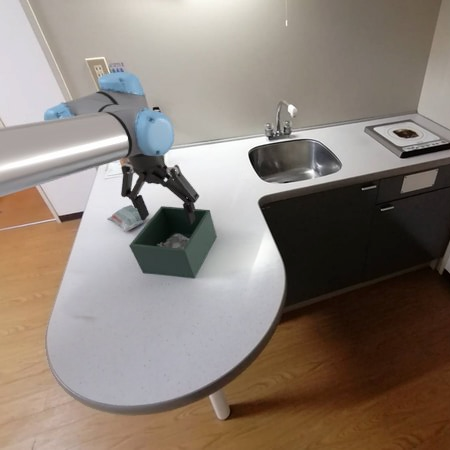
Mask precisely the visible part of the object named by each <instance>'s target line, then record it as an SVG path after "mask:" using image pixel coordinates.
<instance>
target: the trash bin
mask: <svg viewBox="0 0 450 450" xmlns="http://www.w3.org/2000/svg"><path fill="white" fill-rule="evenodd" d="M194 215H195V220H194V221H193V223H192V224H188V220H187V217H186V214H185V211H184V207H176V206H165V205H162V206H160V207H159V208H158V210H157V211H156V212H155V213H154V215H153V216H152V217H151V218H150V219H149V220H148V222H146V224H145V226H144V227H143V228H142V229H141V230H140V232H139V233H138V234H137V235H136V236H135V238H134V239H133V240H132V241H131V243H130V244H129V245H128V246H129V248H130V250H131V252H132V254H133V257H134V258H135V260H136V262H137V264H138V266H139V268H140V270H141V272H142V273H143V274H149V275H150V274H152V275H158V276H159V275H160V276H168V277H170V276H171V277H177V278H188V279H196V277H197V275H198V273H199V271H200V269H201V267H202V266H203V263H204V262H205V259H206V258H207V256H208V254H209V252H210V249H211V248H212V247H213V245H214V242H215V241H216V239H217V233H216V232H217V231H216V228H215V225H214V221H213V217H212V213H211V210H210V209H203V208H195V211H194ZM175 234H181V235H183V236H184V237H186V238H188V239H189V241H188V242H187V244H186V246H185V247H184V249H181V248H171V247H160V246H158V245H157V244H160V243H161V242H163V243H165V242H167V239H170V238H171V236H173V235H175Z"/></svg>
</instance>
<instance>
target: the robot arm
mask: <svg viewBox="0 0 450 450" xmlns="http://www.w3.org/2000/svg"><path fill="white" fill-rule="evenodd" d="M97 83H98V88H99V91H96V92H94V93H91V94H88V95H84V96H81V97H79V98H75V99H72V100H69V101H66V102H63V101H61V102H60V103H59V104H57V105H54V106H52V107H50V108H47V109H46V110H45V111H44V114H43V120H40V121H35V122H27V123H22V124H15V125H8V126H3V127H0V198H2V197H3V198H4V197H6V196H9V195H12V194H15V193H18V192H22V191H25V190H28V189H31V188H34V187H38V186H41V185H44V184H47V183H50V182H54V181H57V180H60V179H63V178H66V177H70V176H73V175H76V174H79V173H82V172H86V171H88V170H92V169H94V168H98V167H101V166H104V165H107V164H110V163H113V162H116V161H120V159H123V158H127V157H128V159H129V161H130V162H127V163H126V164H125V165H123V166H122V167H121V166H120V169H121V172H122V181H121V182H122V183H121V191H120V196H121V197H122V198H128V199H129V200H130V201H131V203H132V206H133V207H134V208H135V209H137V210H138V213H139V215H140V217H141V220H145V219H146V218H148V217H149V216H150V213H149V209H148V208H147V204H146V202H145V199H144V198H143V195H142V194H140V192H141V190H142V188H143V186H144V184H145V183H147V184H149V185H151V184H154V185H160V186H162V187H163V188H166V189H168V190H169V191H170V192H171V193H173V195H175V196H176V197H177V198H178V199H180V200H181V201H182V202H183V203H182V208H184V211H185V214H186V217H187V220H188V224H192V223H193V221H194V220H195V215H194V211H195V209H196V206H195V203H196V202H197V201H198V200H199V198H200V195H199V193H198V192H197V191H196V189H195V188H194V187H193V186H192V184H191V183H190V181H189V180H188V179H187V177H185V176H184V174H183V173H182V171H181V169H180V166H179V165H178V164H175V165H174V166H168V165H167V164H166V163H165V155H166V154H167V153H168V152H169V151H170V150H171V148H172V147H173V145H174V142H175V131H174V126H173V123H172V121H171V120H170V118H169V117H168V116H167V115H166V114H164V113H162V112H160V111H156V110H153V109H150V107H149V104H148V101H147V98H146V93H145V91H144V89H143V86H142V83H141V82H140V79H139V77H138V75H136V74H135V73H132V72H128V71H119V72H118V71H117V72H109V73H105V74H102V75H101V76H99V77H98V78H97ZM134 174H136V175H137V176H138V177H137V180H136V181H135V183H134V186H133V179H134ZM132 186H133V188H132Z"/></svg>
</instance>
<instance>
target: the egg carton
mask: <svg viewBox="0 0 450 450" xmlns="http://www.w3.org/2000/svg"><path fill="white" fill-rule="evenodd" d="M188 241H189V239H188V238H186V237H184V236H183V235H181V234H175V235H173V236H171V238H170V239H167V242H165V243H163V242H161V243H160V244H157V245H158V246H160V247H171V248H181V249H184V247H185V246H186V244H187V242H188Z"/></svg>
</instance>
